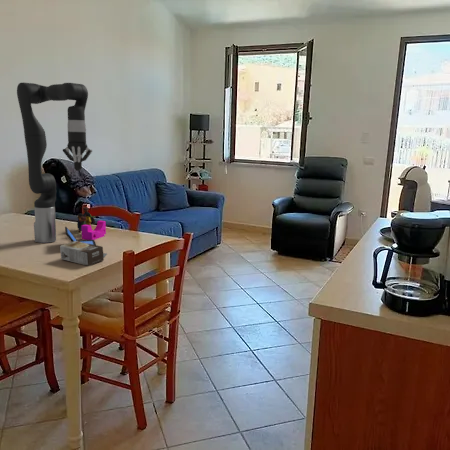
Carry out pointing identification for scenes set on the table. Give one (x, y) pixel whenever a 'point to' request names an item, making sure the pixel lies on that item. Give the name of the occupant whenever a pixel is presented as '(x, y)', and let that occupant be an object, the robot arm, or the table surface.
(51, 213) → the robot arm
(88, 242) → the game console
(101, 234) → the toy block
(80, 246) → the coffee box
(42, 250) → the table surface
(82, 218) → the doll family
